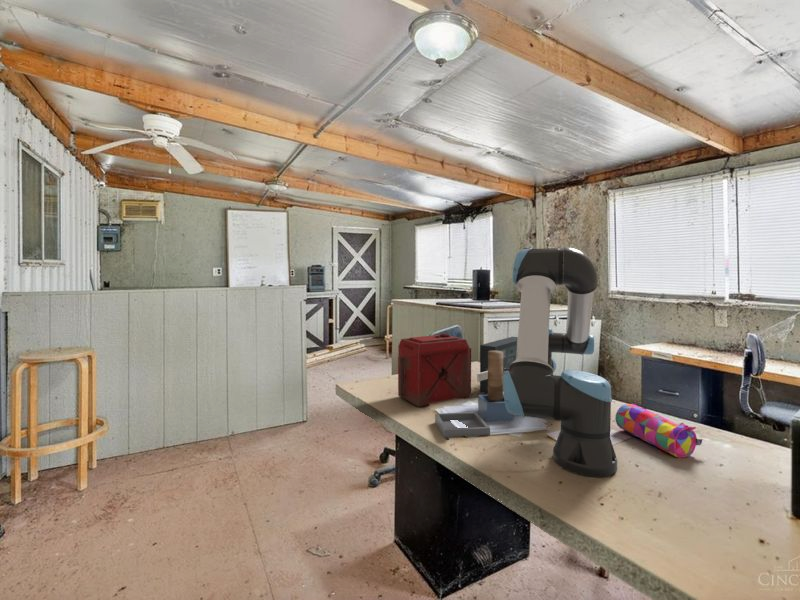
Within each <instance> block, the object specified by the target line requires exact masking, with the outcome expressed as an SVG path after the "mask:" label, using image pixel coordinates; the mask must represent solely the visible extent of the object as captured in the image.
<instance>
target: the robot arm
mask: <svg viewBox="0 0 800 600" xmlns="http://www.w3.org/2000/svg"><path fill="white" fill-rule="evenodd" d="M514 257H515V258H514V261H513V266H512V267H513V269H512V282H513V284H514V285H516V288H517V290H518V291H519V292H521V293H520V306H519V319H518V331H517V337H518V340H517V352H516V360H515V361H514V362H512V363H511V364H510V369H507V367H503V394H504V401H505V407H506V409H507V411H508V412H509V413H510V414H513V416H521V417H523V418H525V417H526V418H527V417H528V418H535V419H542V420H551V421H557V422H560V430H559V433H558V435H557V437H556V438H557V439H556V440H555V443H554V446H553V449H552V460H553V462H554V463H555V464H557V465H558V467H561V468H562V469H565V470H567V471H569V472H571V473H575V474H577V475H581V476H586V477H587V476H588V477H595V478H597V477H598V478H599V477H602V478H603V477H610V476H612V475H614V474H615V473H617V471H618V458H617V454H616V452H615V449H614V445H613V442H612V439H611V417H612V416H611V413H612V412H611V410H612V402H613V398H612V385H611V383H610V382H609V381H608V380H607V379H606V378H604V377H602V376H600V375H597V374H594V373H591V372H588V371H583V370H582V371H581V370H576V369H564V370H562V372H561V375H556V374H554V372H555V371H556V369H557V363H556V361H555V359H554V358H553V357H552V356H553V355H552V353H559V354H573V355H581V356H583V355H593V354H594V353H595V336H594V335H593V334H590V330H591V319H592V308H593V299H594V298H593V297H594V292H595V291H596V290H597V288H598V286H599V285H598V283H599V275H598V272H597V268H596V266H595V265H594V263H593V261H592V260H591V259H590V258H589V256H587V255H586V253H583V252H582V251H581V250H578V249H577V248H573V247H548V248H532V247H530V248H525V249H523V248H522V249H520V250H519V251H517V253H516V255H515V256H514ZM558 285H559V286H561V285H562V286H564V287H565V289H566V290H567V312H566V313H567V314H566V315H567V316H566V332H565V333H561V332H554V331H553V329H552V328H551V327H550V314H551V312H550V311H551V294H553V292H555V291H556V288H557V286H558ZM486 379H488V369H483V372H481V373H480V372H477V373H476V382H479V383H480V381H482V380H486Z"/></svg>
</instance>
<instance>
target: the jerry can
mask: <svg viewBox="0 0 800 600" xmlns="http://www.w3.org/2000/svg"><path fill="white" fill-rule="evenodd" d="M397 350H398V352H397V356H398V357H397V369H398V370H397V384H398V385H397V390H398V391H397V395H398V397H400V398H403V400H406V401H408V402H409V403H411V404H413V405H414V406H416V407H419V408H421V407H426V406H427V407H428V406H430V404H434V403H435V404H436V403H439V402H444V401H449V400H455V399H466V398H469V397H470V395H471V394H472V347H470V345H469V343H468V340H467V339H466V338H462V337H457V336H452V335H451V334H449V333H439V334H436V335H435V334H434V335H424V336H412V337H408V338H401V339H400V341H399V343H398V349H397Z"/></svg>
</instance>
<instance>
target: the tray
mask: <svg viewBox="0 0 800 600" xmlns="http://www.w3.org/2000/svg"><path fill="white" fill-rule="evenodd" d="M450 420H458V421H459V422H462V423H463V424H465V425H466V427H467V426H468V428H457V427H455V426H454V425H453V424H452V423H451V421H450ZM434 423H435V425H436V427H437V429H438V430H439V432H440V434H441V437H442V438H443V440H444V441H450V438H451V437H468V436H469V437H470V436H471V437H472V436H488V435H491V427H490V426H489V425H488V424H487V422H485V419H484V418H483V417H482V416H481V415H480V414H478V411H477V412H476V411H468V412H464V411H463V412H444V413H434Z"/></svg>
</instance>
